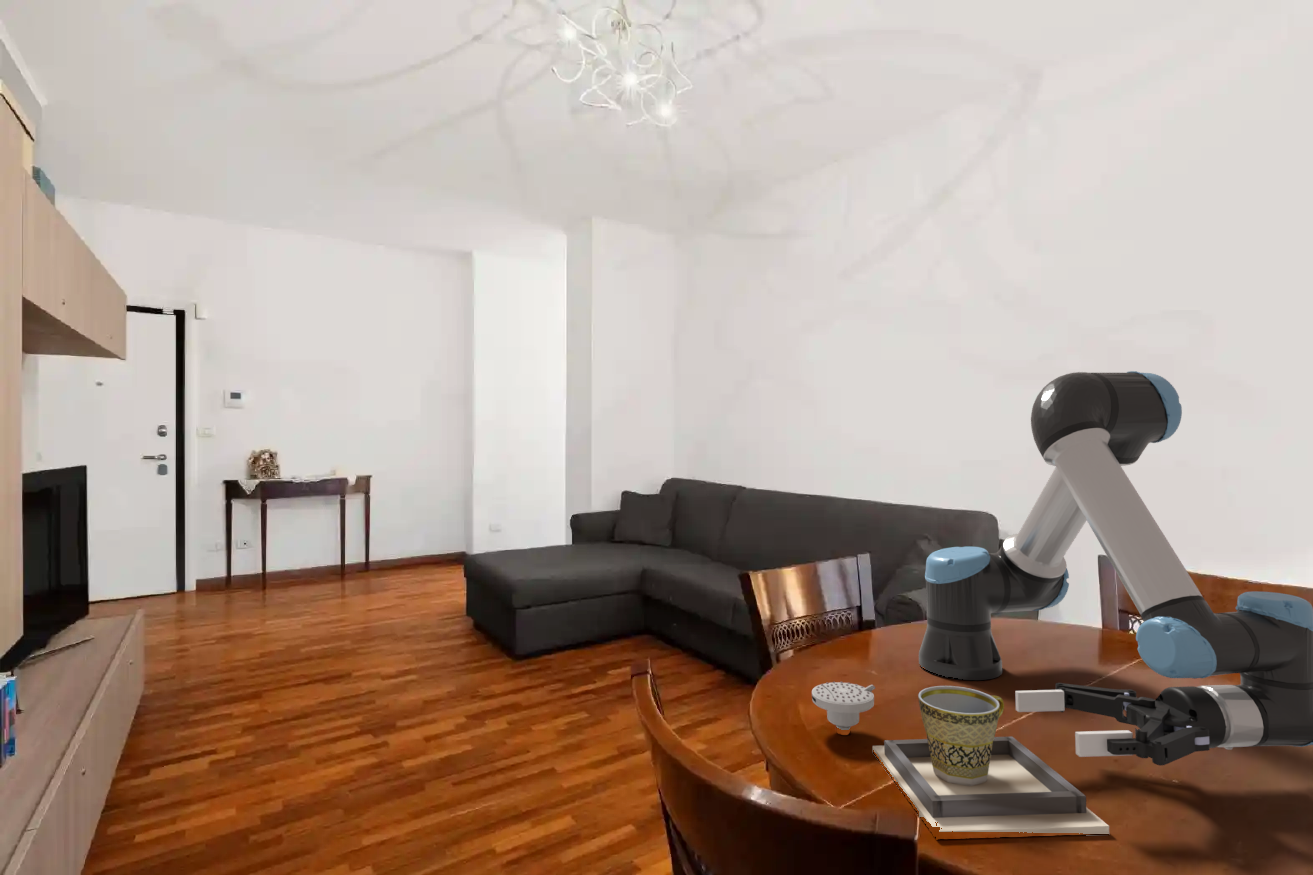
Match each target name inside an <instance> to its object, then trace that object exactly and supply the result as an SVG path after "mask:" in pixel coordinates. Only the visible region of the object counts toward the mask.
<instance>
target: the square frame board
mask: <svg viewBox="0 0 1313 875" xmlns="http://www.w3.org/2000/svg"><path fill="white" fill-rule="evenodd" d="M883 743H884V745H872V751H873V750H874V752H875V753H876V754H877V756H878V757H879V759H880V760H881V762H883V764H884V766H885V767H886V768H887V770H888V771H889V772H890V774H891V775H892V777H894V779H895V780H896V782H898V784H899V786H900V787H901V788H902V789H903V791H904V792H905V793H906V794H907V796H908V797H909V798H910V800H911V801H912V802H913V804H914V805H915V807H916V808H917V810H918V811H919V816H918V817H919V818H920V817H924V818H925V819H926V821H927V822H929V823H930V824H931V826H932V827H940V830H939V832H952V831H953V832H1019V833H1020V832H1023V833H1024V832H1027V833H1032V832H1033V833H1079V834H1080V833H1083V834H1109V835H1110V825H1109V824H1107V823H1106V822H1105V821H1104V820H1103V819H1101V817H1099V816H1098V815H1096V813H1094V812H1093V811H1092V810H1091V809H1089V808H1088V807H1087V796H1086V795H1085V794H1084V793H1083V792H1081V791H1080V790H1079V789H1078V788H1076V787H1075V786H1074V785H1073V784H1072V783H1070V781H1068V780H1067V779H1065V778H1064V777H1063V776H1062V775H1061V774H1059V773H1058V772H1057V771H1056V770H1055V769H1053V768H1052V767H1051V766H1049V764H1047V763H1046V762H1044V761H1043V760H1042V759H1041V758H1040V757H1039V756H1037V755H1036V754H1034V752H1032V751H1031V750H1029V749H1028V748H1027V747H1026V746H1025V745H1023V744H1022V743H1021V742H1020V741H1019V740H1017V739H1016V738H1015V737H1013V736H994V740H993V745H992V751H991V757H990V763H989V770H988V776H987V780H986V782H984V783H980V784H977V785H973V786H966V785H960V784H954V783H949V782H947V781H945V780H943V779H942V778H940V777H938V776H937V775H935V773H934V770H933V765H932V760H931V755H930V750H929V745H928V740H927V738H923V739H922V738H921V739H919V738H918V739H914V738H913V739H889V740H888V739H886V740H884V741H883ZM935 822H936V823H937V822H938V823H937V826H936V823H935ZM941 828H942V829H941Z"/></svg>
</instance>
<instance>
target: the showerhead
mask: <svg viewBox="0 0 1313 875" xmlns="http://www.w3.org/2000/svg"><path fill="white" fill-rule="evenodd" d="M875 689H876V686H875V685H874V684H870V685H867V686H866V687H865V686H862V685H859V684H857V683H851V682H843V681H840V682H839V681H838V682H835V681H832V682H826V683H821V684H818V685H816V686H814V687H813V688H812V690H811V699H812V700H811V701H812V703H813V704H814V705H816V706H817V707H818V708H820V709H822V710H825V711H826V716H827V717H826V718H827V721H828V722H830V724H832V725H834V726H835V728H836V727H837V728H839V729H841V730H849V729H850V728H851V727H854V726H856V725H857V724H858V723H859V722H860V713H864V712H867V711H869V710H871V709H872V708H874V705H875V695H874V693H873V692H872V691H873V690H875Z"/></svg>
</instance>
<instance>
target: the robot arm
mask: <svg viewBox="0 0 1313 875" xmlns="http://www.w3.org/2000/svg"><path fill="white" fill-rule="evenodd" d="M1182 411H1183V408H1182V404H1181V403H1180V396H1179V394H1178V392H1177V390H1176V388H1175V387H1174V386H1173V384H1171V382H1170V381H1169V380H1167V379H1166V378H1165V377H1163V376H1161V375H1158V374H1156V373H1153V372H1152V373H1150V372H1139V371H1134V370H1130V371H1126V372H1086V371H1084V372H1083V371H1081V372H1080V371H1078V372H1070V373H1066V374H1064V375H1060V376H1058V377H1056V378H1054V379H1053V380H1051V381H1050V382H1048V383H1047V384H1046V385H1045V386H1044V387H1042V389H1041V390H1040V391H1039V393H1038V394H1037V396H1036V398H1035V400H1034V403H1033V405H1032V408H1031V415H1030V425H1031V426H1030V427H1031V433H1032V435H1033V436H1032V437H1033V440H1034V443H1035V446H1036V447H1037V449H1038V452H1039V453H1040V455H1041V457H1042V459H1043V461H1044V462H1045V463H1046V464H1048V465H1050V466H1052V467H1053V466H1054V467H1055V468H1054V469H1053V471H1052V472H1051V474H1050V477H1049V478H1048V480H1047V482H1046V484H1044V485H1045V486H1044V487H1043V489H1042V491H1041V492H1040V494H1039V496H1038V498H1037V500H1036V502H1035V503H1034V505H1033V507H1032V508H1031V510H1030V512H1029V514H1028V516H1027V518H1026V520H1025V521H1024V522H1023V524H1022V527H1021V528H1020V529H1019V532H1017V533H1013V534H1010V535H1008V536H1007V537H1006V538H1005V539H1004V540H1003V542H1002V545H1001V546H1000V548H999V549H998V551H996V552H993V553H992V552H991V553H989V551H988V550H987V549H986V548H984V547H980V546H969V545H967V546H966V545H965V546H953V547H944V548H941V549H939V550H935V551H932V552H931V553H930V554H929V555H928V557H926V561H925V573H924V578H925V589H926V595H925V596H926V624H927V625H926V630H925V632H924V635H923V638H922V641H921V642H922V643H921V645H920V648H919V651H918V665H919V664H920V665H921V667H924V668H925V669H926V670H928V671H930V672H933V673H936V674H938V675H937V676H939V675H942V676H941V677H943V676H945V678H948V677H953V678H952V679H954V678H958V679H957V680H962V679H963V680H965V681H983V680H984V681H985V680H992V679H996V678H998V677H1000V676H1002V674H1003V660H1002V657H1001V655H1000V653H999V648H998V647H997V643H996V641H995V638H994V636H993V632H992V620H991V619H992V616H991V615H992V614H996V613H998V614H999V613H1011V612H1013V613H1014V612H1031V611H1034V612H1035V611H1036V612H1037V611H1041V610H1045V609H1050V608H1053V607H1055V606H1057V605H1059V603H1061V602H1062V601H1063V600H1064V598H1065V597H1066V595H1067V593H1068V590H1069V586H1070V583H1069V582H1068V581H1067V580H1068V579H1070V574H1069V570H1068V567H1067V561H1066V559H1065V557H1064V556H1065V555H1066V554H1067V552H1068V550H1069V549H1070V548H1071V546H1072V544H1073V542H1074V541H1075V539H1076V538H1077V536H1078V534H1079V533H1080V531H1081V530H1082V528H1083V527H1084V525H1085V524H1086V522H1087V523H1088V525H1089V527H1090V529H1091V531H1092V532H1093V534H1094V535H1095V537H1096V539H1097V541H1098V543H1099V544H1100V546H1101V548H1102V549H1103V551H1104V553H1105V555H1106V557H1107V558H1108V560H1109V562H1110V564H1111V565H1112V567H1113V568H1114V571H1115V572H1116V574H1117V576H1118V578H1119V579H1120V581H1121V583H1122V585H1123V586H1124V588H1125V590H1126V592H1127V594H1128V595H1129V597H1130V599H1131V600H1132V602H1133V604H1134V605H1135V607H1136V609H1137V611H1138V612H1139V615H1140V616H1141V619H1142V621H1143V622H1142V623H1140V625H1139V626H1138V629H1137V631H1136V635H1135V640H1136V642H1137V645H1138V646H1137V651H1138V654H1139V656H1140V658H1141V660H1142V661H1143V662H1144V664H1146V665H1147V666H1148V668H1150V670H1152V671H1153V672H1154V673H1156V674H1157V675H1160V676H1162V677H1166V678H1170V679H1194V680H1195V679H1205V678H1208V677H1213V676H1215V677H1216V676H1223V675H1232V674H1239V675H1240V684H1214V685H1212V684H1211V685H1210V684H1209V685H1208V684H1207V685H1197V686H1193V685H1190V686H1189V685H1188V686H1169V687H1166V688H1164V689H1163V690H1161V692H1160V693H1159V695H1158V696H1157V697H1156V698H1151V697H1146V696H1140V697H1137V691H1136V690H1134V689H1130V688H1129V689H1121V688H1120V689H1115V688H1109V687H1108V688H1105V687H1099V686H1090V685H1079V684H1074V683H1073V684H1070V683H1063V682H1056V683H1055V689H1037V690H1032V689H1030V690H1015V693H1014V694H1015V711H1017V713H1029V712H1036V713H1037V712H1060V713H1064V712H1065V711H1066V710H1065V709H1070V710H1075V711H1079V712H1085V713H1090V714H1095V715H1100V716H1105V717H1111V718H1113V719H1115V720H1116V722H1118V723H1121V724H1127V725H1133V726H1135V727H1138V729H1137V728H1134V729H1135V731H1134V733H1135V734H1133V731H1132V732H1131V731H1130V730H1128V729H1127V730H1126V729H1125V730H1124V729H1123V730H1122V729H1121V730H1092V731H1091V730H1089V731H1088V730H1087V731H1086V730H1085V731H1075V732H1074V737H1075V738H1074V740H1075V755H1077V756H1078V757H1079V758H1085V757H1086V758H1087V757H1120V756H1121V757H1122V756H1134V755H1135V756H1137V757H1138V758H1141V759H1148V758H1150V759H1151V761H1152V763H1153V764H1154V765H1157V766H1166V765H1168V764H1170V763H1172V762H1175V761H1177V760H1180V759H1181V758H1184V757H1187V756H1189V755H1192V754H1193V753H1195V752H1206V751H1207V752H1208V751H1210V750H1211V749H1215V748H1224V749H1225V750H1233V748H1243V747H1246V748H1247V747H1250V748H1253V747H1299V748H1302V747H1308V746H1313V606H1312V603H1310V601H1308V600H1307V599H1305V598H1302V597H1300V596H1296V595H1293V594H1287V593H1282V592H1274V591H1273V592H1272V591H1257V590H1256V591H1255V590H1254V591H1245V592H1243V593H1241V594H1239V595H1238V596H1237V601H1236V606H1235V610H1236V611H1227V612H1216V613H1215V612H1213V610H1212V609H1211V607H1210V605H1209V604H1208V602H1207V600H1205V598H1204V597H1203V595H1202V594H1201V592H1200V589H1199V588H1198V586H1197V585H1196V584H1195V582H1194V580H1193V578H1192V577H1191V576H1190V574H1189V573H1188V571H1187V569H1186V568H1185V566H1184V565H1183V563H1182V561H1181V560H1180V558H1179V556H1178V555H1177V553H1176V552H1175V550H1174V548H1173V547H1172V545H1171V543H1170V542H1169V541H1168V539H1167V537H1166V536H1165V534H1164V532H1163V530H1162V529H1161V528H1160V526H1159V524H1158V523H1157V521H1156V520H1155V518H1154V516H1153V515H1152V513H1151V512H1150V511H1149V509H1148V507H1147V505H1146V504H1145V502H1144V500H1143V499H1142V497H1141V496H1140V494H1139V492H1138V491H1137V490H1136V488H1135V486H1134V485H1133V483H1132V482H1131V480H1130V478H1129V476H1128V475H1127V473H1126V472H1125V470H1124V468H1123V467H1124V466H1125V467H1126V466H1131V465H1133V464H1135V463H1136V462H1137V461H1138V460H1139V458H1140V457H1141V456H1142V454H1143V452H1144V451H1145V450H1146V448H1147V447H1148V445H1149V444H1151V443H1152V444H1156V443H1157V444H1158V443H1160V442H1162V441H1165V440H1168V439H1169V438H1171V437H1172V436H1173V435H1174V434H1175V433H1176V431H1178V428H1179V426H1180V423H1181V421H1182V414H1183V412H1182ZM920 665H919V666H920ZM921 667H920V668H921ZM926 670H925V671H926ZM928 671H927V672H928ZM930 672H929V673H930ZM933 673H932V674H933ZM936 674H935V675H936ZM963 680H962V681H963ZM1124 711H1126V713H1125V714H1126V716H1125V714H1124ZM1134 735H1135V737H1134Z"/></svg>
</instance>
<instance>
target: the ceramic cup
mask: <svg viewBox="0 0 1313 875" xmlns="http://www.w3.org/2000/svg"><path fill="white" fill-rule="evenodd" d="M917 697H918V703H919V710H920V715H921V720H922V723H923V727H924V730H925V733H926V734H925V736H926V739H927V740H928V745H929V750H930V755H931V760H932V765H933V770H934V773H935V775H937V776H938V777H940V778H942V779H943V780H945V781H947V782H949V783H954V784H960V785H966V786H973V785H977V784H980V783H984V782H986V780H987V776H988V770H989V763H990V757H991V751H992V745H993V740H994V737H996V732H997V727H998V722H999V719H1000V717H1001V716H1002V714H1003V713H1004V710H1005V703H1004V700H1003V698H1002V697H1001V696H998V695H992V694H991V695H990V694H988V693H985V692H983V691H980V690H977V689H974V688H973V689H972V688H968V687H963V686H957V685H956V686H954V685H937V686H930V687H926V688H923V689H922V690H920V691H919V693H918V694H917Z"/></svg>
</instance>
